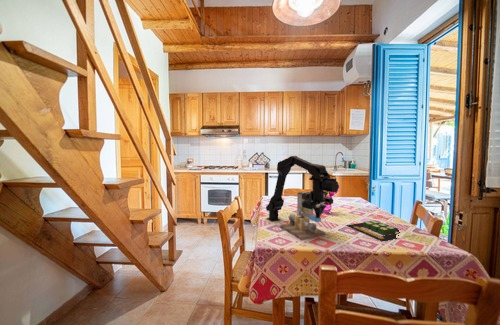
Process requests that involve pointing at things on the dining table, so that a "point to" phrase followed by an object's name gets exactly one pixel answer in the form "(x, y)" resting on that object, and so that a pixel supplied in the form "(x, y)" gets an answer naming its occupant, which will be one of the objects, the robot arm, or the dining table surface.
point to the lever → (310, 216)
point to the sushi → (376, 230)
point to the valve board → (301, 233)
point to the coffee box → (299, 204)
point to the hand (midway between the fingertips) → (317, 218)
